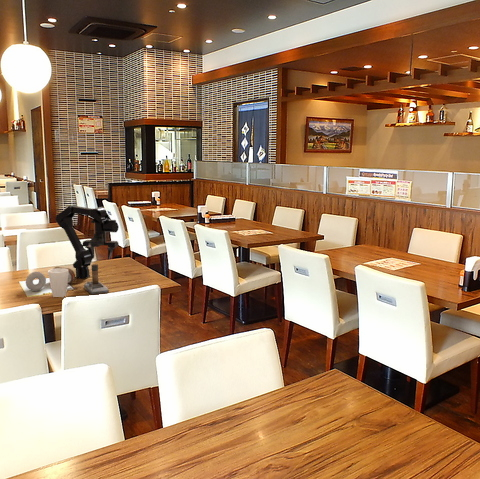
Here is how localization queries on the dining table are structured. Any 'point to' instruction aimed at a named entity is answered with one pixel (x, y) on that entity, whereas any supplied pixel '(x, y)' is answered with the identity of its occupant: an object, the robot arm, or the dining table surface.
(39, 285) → the donut
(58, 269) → the foam cup
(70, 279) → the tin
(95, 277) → the slide handle
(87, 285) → the rail base
